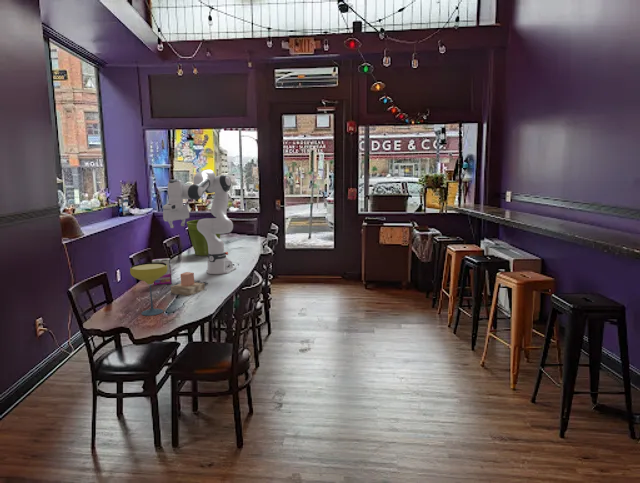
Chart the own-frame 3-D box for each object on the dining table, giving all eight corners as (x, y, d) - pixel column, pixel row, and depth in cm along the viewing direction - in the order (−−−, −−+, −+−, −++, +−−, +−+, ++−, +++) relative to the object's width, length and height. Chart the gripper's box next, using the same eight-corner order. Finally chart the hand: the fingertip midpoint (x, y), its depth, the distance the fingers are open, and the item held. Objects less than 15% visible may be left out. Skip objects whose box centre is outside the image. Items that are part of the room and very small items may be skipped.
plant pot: (188, 252, 402) (186, 220, 397) (222, 249, 411) (220, 218, 406) (189, 258, 374) (186, 224, 369) (225, 256, 383) (223, 222, 378)
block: (187, 283, 278) (186, 272, 277) (194, 283, 276) (193, 272, 275) (181, 285, 273) (180, 274, 272) (188, 286, 271) (187, 274, 270)
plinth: (187, 287, 284) (186, 280, 284) (204, 289, 278) (204, 282, 278) (171, 293, 272) (170, 286, 271) (189, 295, 266) (189, 288, 265)
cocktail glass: (174, 306, 245) (171, 261, 241) (164, 317, 227) (160, 269, 223) (141, 307, 245) (137, 262, 241) (128, 318, 227) (124, 270, 223)
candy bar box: (172, 282, 298) (170, 257, 295) (171, 284, 293) (170, 259, 290) (154, 283, 295) (152, 259, 292) (153, 285, 290) (151, 260, 287)
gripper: (183, 203, 297) (184, 224, 299) (160, 206, 279) (162, 228, 281) (191, 204, 295) (192, 225, 297) (168, 206, 276) (170, 229, 279)
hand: (177, 226), depth 289 cm, fingers open, 8 cm apart
